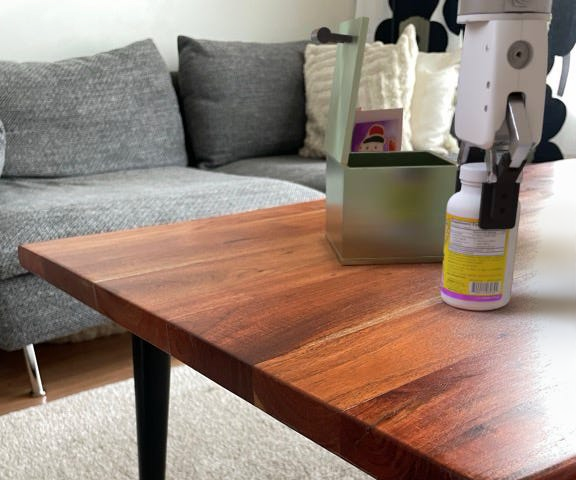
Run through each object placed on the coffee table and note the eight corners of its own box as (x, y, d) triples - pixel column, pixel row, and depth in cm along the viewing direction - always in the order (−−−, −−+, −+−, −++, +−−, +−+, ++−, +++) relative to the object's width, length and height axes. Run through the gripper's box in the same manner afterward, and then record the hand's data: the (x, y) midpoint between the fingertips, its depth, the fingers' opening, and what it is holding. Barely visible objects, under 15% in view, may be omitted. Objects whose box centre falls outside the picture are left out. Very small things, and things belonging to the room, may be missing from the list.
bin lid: (346, 23, 86) (308, 17, 85) (369, 17, 72) (324, 11, 72) (329, 148, 91) (293, 144, 91) (347, 164, 78) (305, 159, 78)
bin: (425, 233, 97) (431, 150, 92) (457, 261, 84) (466, 166, 79) (325, 236, 96) (326, 152, 92) (341, 265, 83) (343, 168, 78)
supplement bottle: (465, 287, 75) (477, 158, 69) (522, 301, 70) (540, 165, 65) (425, 301, 70) (435, 166, 65) (484, 317, 66) (499, 173, 61)
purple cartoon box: (347, 223, 103) (350, 112, 97) (313, 216, 108) (314, 109, 102) (402, 213, 110) (407, 108, 103) (367, 206, 115) (370, 105, 109)
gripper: (597, -5, 52) (561, 240, 59) (510, 9, 68) (490, 201, 75) (496, -5, 51) (472, 243, 59) (432, 9, 67) (419, 203, 75)
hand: (482, 218), depth 67 cm, fingers closed on supplement bottle, 6 cm apart
